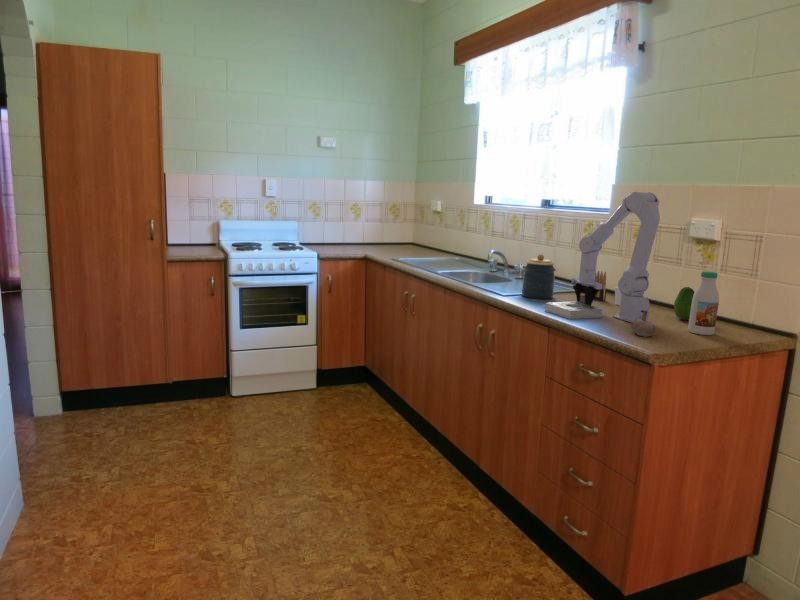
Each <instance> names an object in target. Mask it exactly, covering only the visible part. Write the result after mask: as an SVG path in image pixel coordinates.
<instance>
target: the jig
mask: <svg viewBox="0 0 800 600" xmlns="http://www.w3.org/2000/svg"><path fill="white" fill-rule="evenodd" d="M544 311H545V312H548V313H550V312H551V313H550V314H554V315H556V316H558V317H563V318H565V319H568V320H578V319H579V320H581V319H594V318H602V315H603V308H600V307H597V306H593V305H587V304H584V303H580V302H577V300H574V301H573V300H572V301H558V302H553V301H552V302H545V306H544Z"/></svg>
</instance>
